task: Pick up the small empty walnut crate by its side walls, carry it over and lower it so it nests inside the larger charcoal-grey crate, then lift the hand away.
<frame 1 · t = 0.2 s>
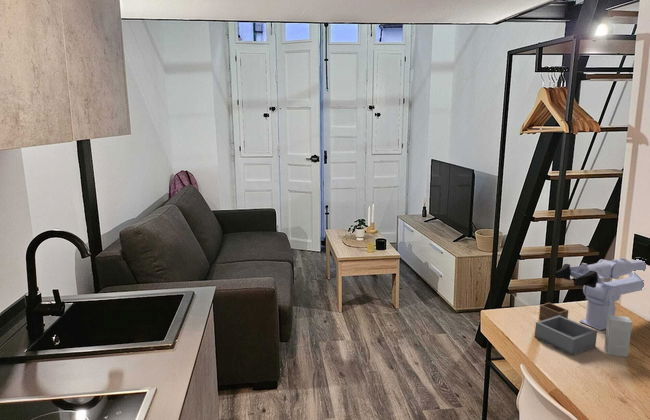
hand: (566, 278, 158), 21 cm above the table, tool horizontal, fingers open, 7 cm apart
small crate: (552, 321, 174), on the table
big crate: (564, 341, 159), on the table
skincare box: (615, 353, 151), on the table
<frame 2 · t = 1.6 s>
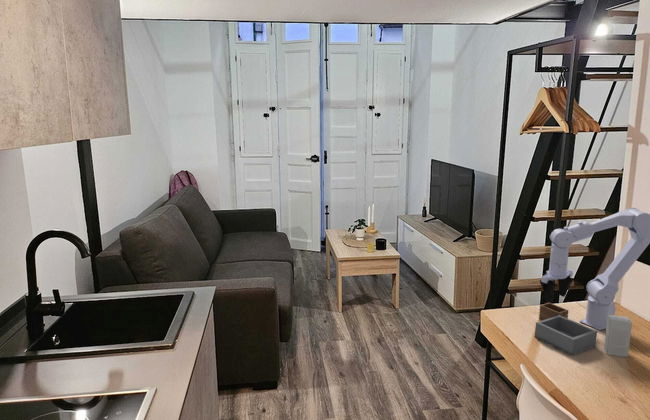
hand: (555, 297, 172), 9 cm above the table, tool pointing down, fingers open, 7 cm apart
nothing on the table moved.
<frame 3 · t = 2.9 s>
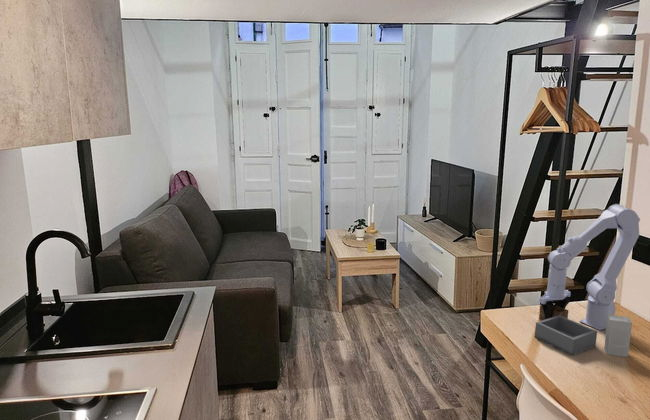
hand: (553, 318, 173), 1 cm above the table, tool pointing down, fingers closed on small crate, 5 cm apart
small crate: (552, 321, 174), on the table, touching gripper
everything else where it was.
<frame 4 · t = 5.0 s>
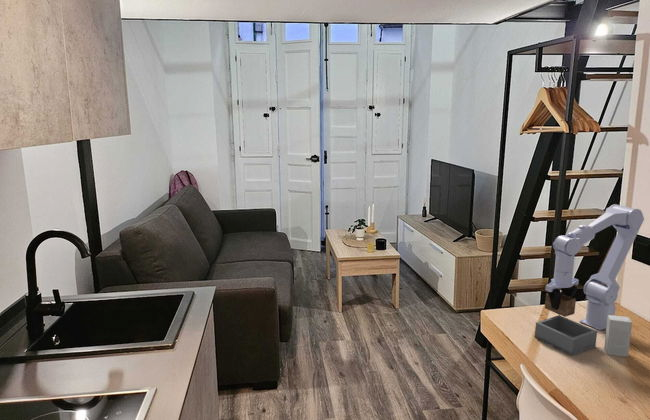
hand: (560, 307, 165), 9 cm above the table, tool pointing down, fingers closed on small crate, 5 cm apart
small crate: (559, 311, 165), point 7 cm above the table, touching gripper
everything else where it was.
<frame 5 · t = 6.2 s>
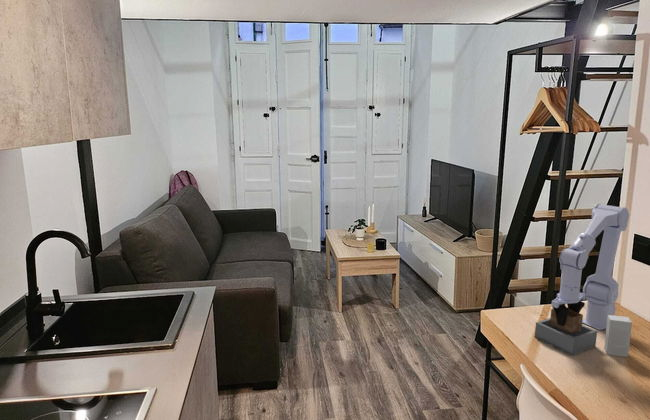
hand: (566, 323, 157), 7 cm above the table, tool pointing down, fingers closed on small crate, 5 cm apart
small crate: (565, 327, 158), point 5 cm above the table, touching gripper
everything else where it was.
when the fingers open (4 cm above the table, at t = 7.2 s): small crate drops 1 cm, resting on big crate.
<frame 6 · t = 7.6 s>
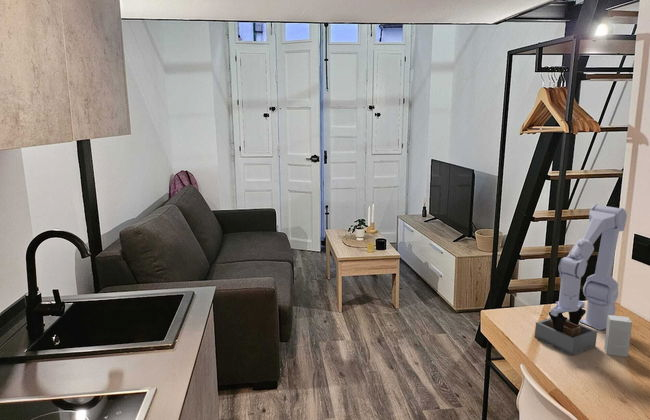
hand: (565, 331, 158), 4 cm above the table, tool pointing down, fingers open, 7 cm apart
small crate: (564, 338, 159), point 1 cm above the table, touching big crate
everything else where it was.
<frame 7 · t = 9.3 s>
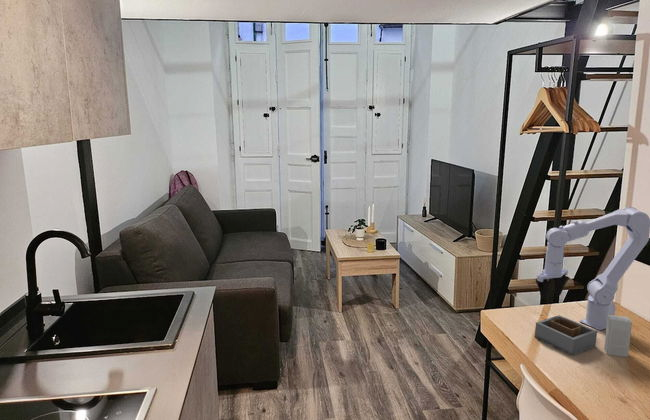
hand: (550, 296, 173), 9 cm above the table, tool pointing down, fingers open, 7 cm apart
nothing on the table moved.
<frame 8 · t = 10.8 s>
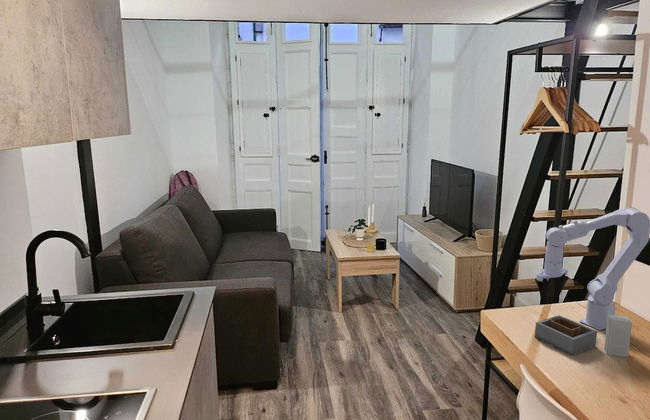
hand: (550, 295, 173), 9 cm above the table, tool pointing down, fingers open, 7 cm apart
nothing on the table moved.
at the end: small crate 0.2 cm off-centre on the big crate, point 1.0 cm above the big crate's base; small crate tilted 0°; the gripper is holding nothing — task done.
